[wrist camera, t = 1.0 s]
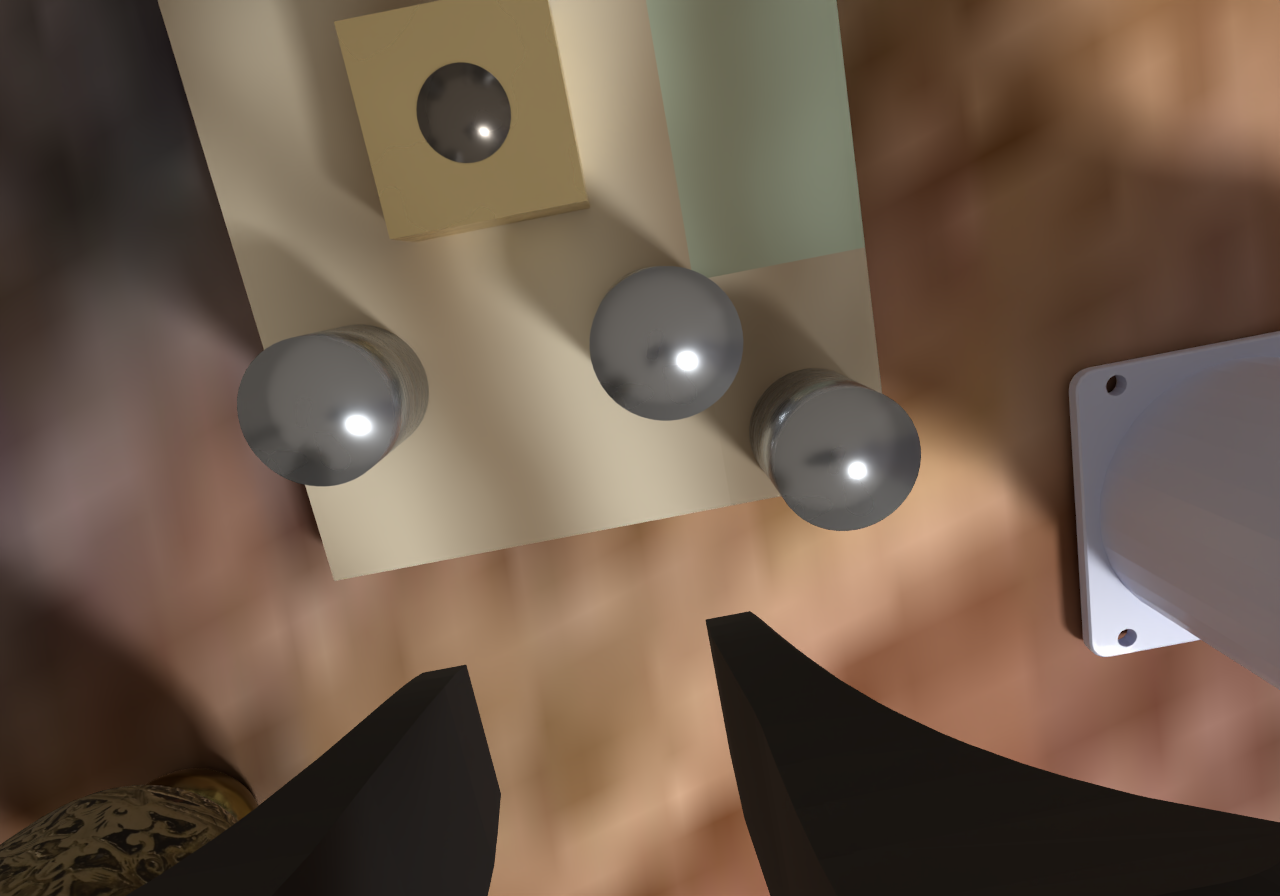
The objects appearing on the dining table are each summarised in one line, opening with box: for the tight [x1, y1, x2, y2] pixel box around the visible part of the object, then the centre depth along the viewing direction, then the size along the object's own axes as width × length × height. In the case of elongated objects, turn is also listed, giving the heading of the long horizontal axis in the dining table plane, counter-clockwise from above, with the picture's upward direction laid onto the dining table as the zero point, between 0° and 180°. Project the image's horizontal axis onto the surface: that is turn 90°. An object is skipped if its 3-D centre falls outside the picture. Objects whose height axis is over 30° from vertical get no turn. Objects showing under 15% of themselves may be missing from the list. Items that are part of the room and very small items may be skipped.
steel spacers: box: [237, 266, 921, 531], centre depth 16 cm, size 13×16×3 cm
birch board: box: [158, 0, 882, 581], centre depth 17 cm, size 14×19×1 cm
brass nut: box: [334, 0, 590, 242], centre depth 16 cm, size 4×4×2 cm
